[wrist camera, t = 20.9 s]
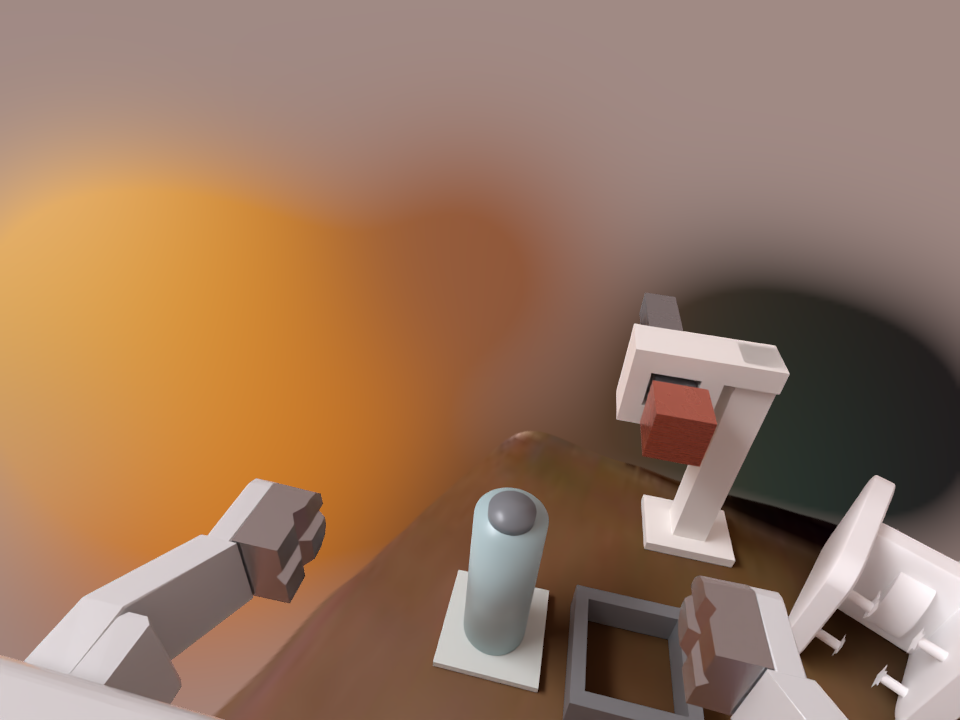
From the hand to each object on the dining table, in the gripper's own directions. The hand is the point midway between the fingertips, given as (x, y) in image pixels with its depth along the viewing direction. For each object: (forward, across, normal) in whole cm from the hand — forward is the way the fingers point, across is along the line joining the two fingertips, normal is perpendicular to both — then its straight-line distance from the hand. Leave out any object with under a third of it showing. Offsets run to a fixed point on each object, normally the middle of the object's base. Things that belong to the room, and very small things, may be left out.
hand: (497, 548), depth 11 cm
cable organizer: (+23, -30, +32) cm, 50 cm away
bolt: (+33, -10, +16) cm, 38 cm away
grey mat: (+16, 0, +32) cm, 36 cm away
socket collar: (+15, -10, +32) cm, 37 cm away
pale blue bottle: (+16, 0, +31) cm, 35 cm away
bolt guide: (+30, -13, +32) cm, 46 cm away
